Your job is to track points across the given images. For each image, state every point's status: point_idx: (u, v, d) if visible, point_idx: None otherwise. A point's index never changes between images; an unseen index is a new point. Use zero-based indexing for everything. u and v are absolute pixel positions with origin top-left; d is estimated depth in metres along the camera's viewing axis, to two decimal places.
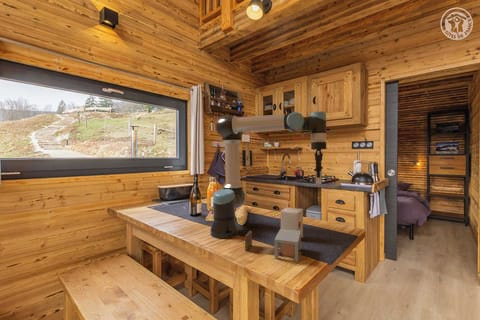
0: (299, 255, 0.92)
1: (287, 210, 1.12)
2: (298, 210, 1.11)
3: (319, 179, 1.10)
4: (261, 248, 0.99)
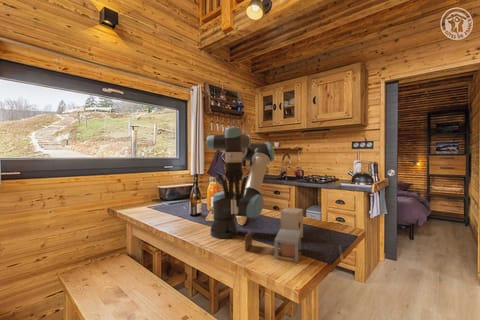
0: (299, 255, 0.92)
1: (287, 210, 1.12)
2: (298, 210, 1.11)
3: None
4: (261, 248, 0.99)
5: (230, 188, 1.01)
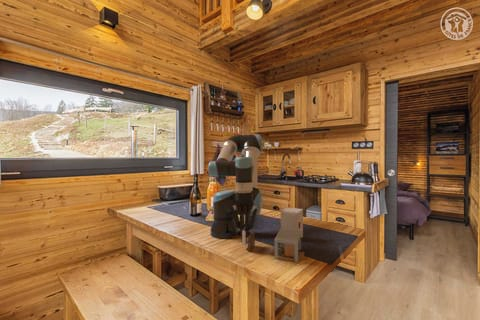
0: (302, 255, 0.91)
1: (287, 210, 1.12)
2: (298, 210, 1.11)
3: None
4: (264, 249, 0.98)
5: (241, 218, 0.99)
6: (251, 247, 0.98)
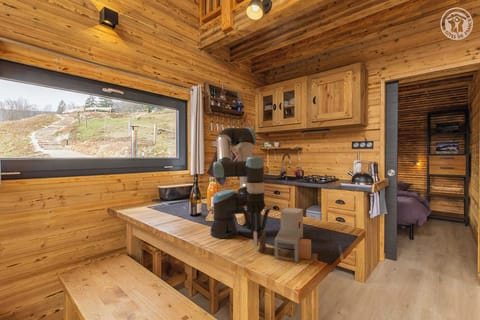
0: (316, 257, 0.90)
1: (287, 210, 1.12)
2: (298, 210, 1.11)
3: None
4: None
5: (252, 219, 0.97)
6: (263, 249, 0.96)
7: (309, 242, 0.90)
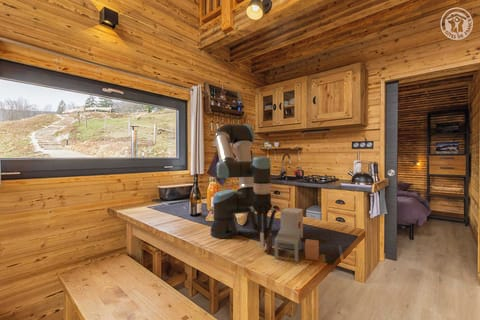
0: (324, 258, 0.89)
1: (287, 210, 1.12)
2: (298, 210, 1.11)
3: None
4: (283, 251, 0.95)
5: (259, 220, 0.97)
6: (269, 249, 0.95)
7: (317, 243, 0.89)
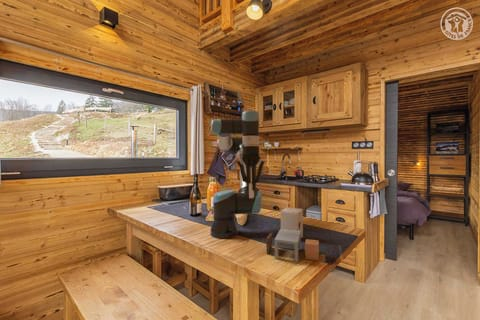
0: (324, 258, 0.89)
1: (287, 210, 1.12)
2: (298, 210, 1.11)
3: None
4: (283, 251, 0.95)
5: (248, 172, 1.01)
6: (269, 249, 0.95)
7: (317, 243, 0.89)
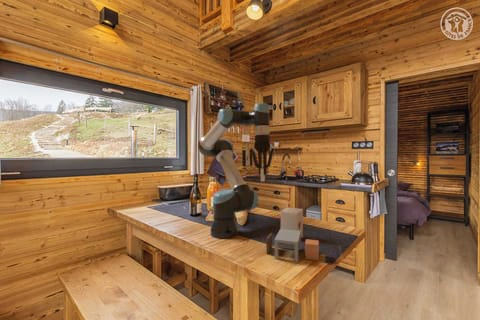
0: (324, 258, 0.89)
1: (287, 210, 1.12)
2: (298, 210, 1.11)
3: None
4: (283, 251, 0.95)
5: (259, 158, 1.13)
6: (269, 249, 0.95)
7: (317, 243, 0.89)
